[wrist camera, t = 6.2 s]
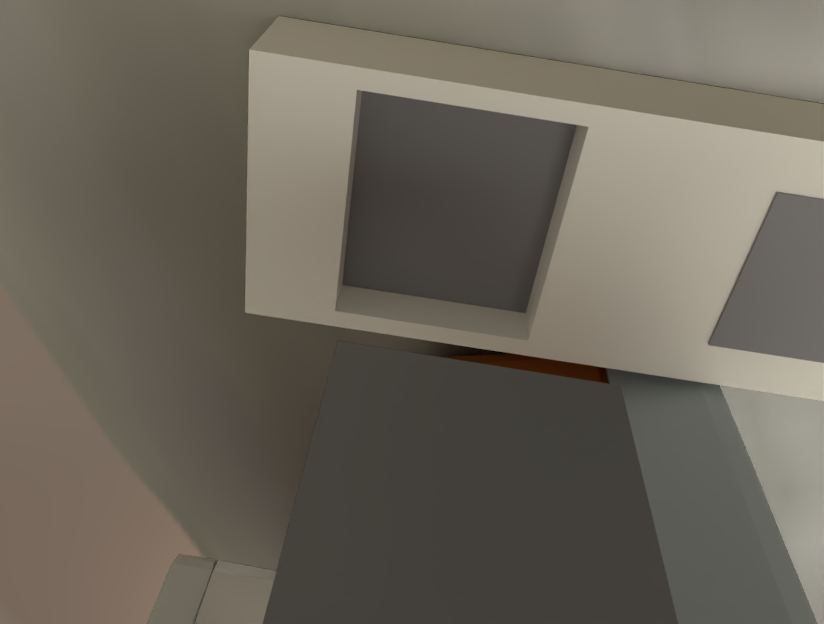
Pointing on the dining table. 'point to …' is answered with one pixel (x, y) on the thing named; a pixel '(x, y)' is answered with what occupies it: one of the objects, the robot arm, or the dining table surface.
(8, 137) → the dining table surface
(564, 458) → the block
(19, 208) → the dining table surface
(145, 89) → the dining table surface
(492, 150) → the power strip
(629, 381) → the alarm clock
